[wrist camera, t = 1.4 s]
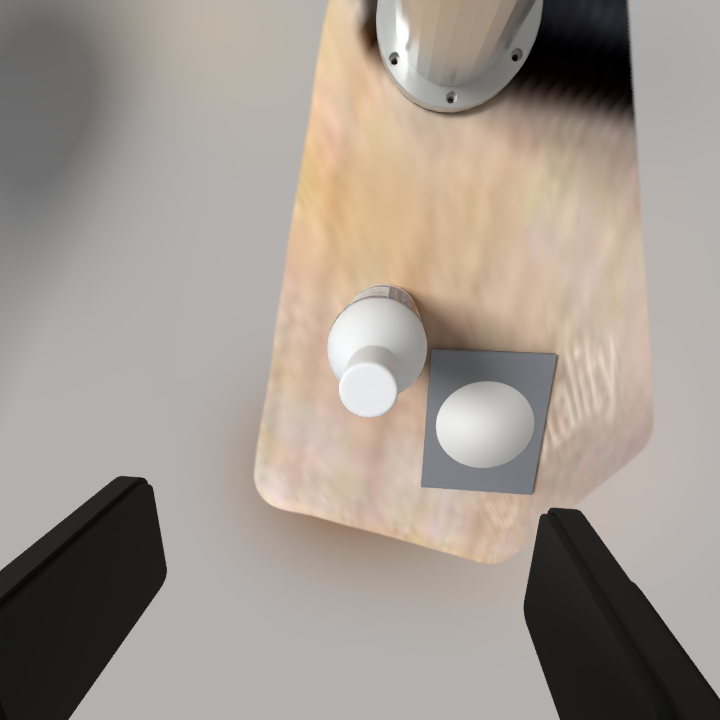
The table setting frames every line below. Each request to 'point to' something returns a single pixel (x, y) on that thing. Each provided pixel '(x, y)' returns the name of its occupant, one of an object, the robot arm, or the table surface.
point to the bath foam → (377, 349)
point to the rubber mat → (485, 419)
